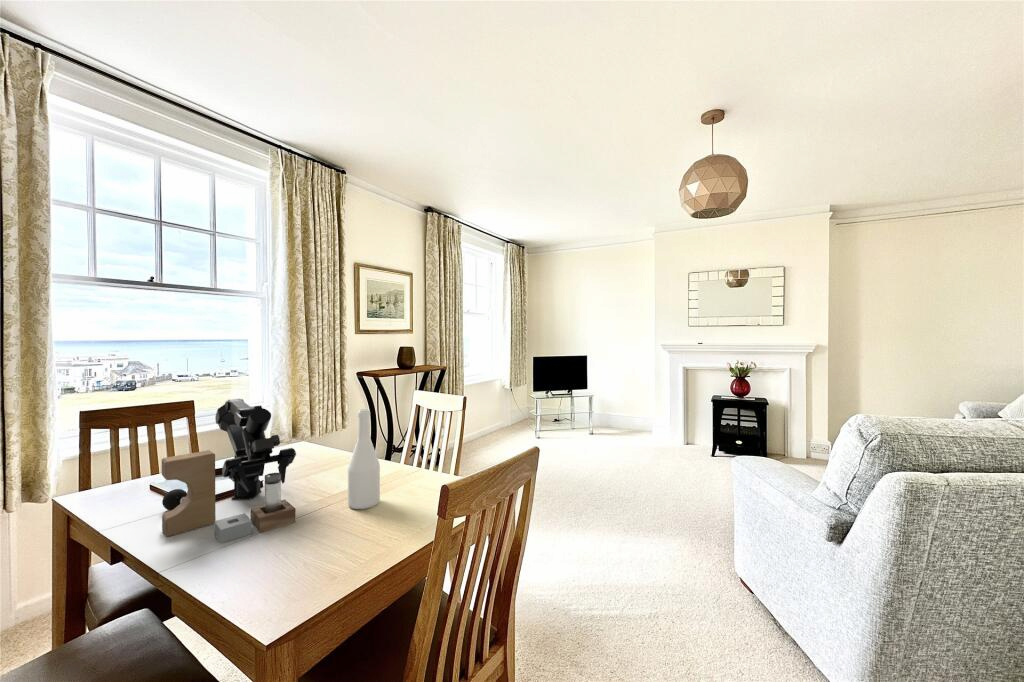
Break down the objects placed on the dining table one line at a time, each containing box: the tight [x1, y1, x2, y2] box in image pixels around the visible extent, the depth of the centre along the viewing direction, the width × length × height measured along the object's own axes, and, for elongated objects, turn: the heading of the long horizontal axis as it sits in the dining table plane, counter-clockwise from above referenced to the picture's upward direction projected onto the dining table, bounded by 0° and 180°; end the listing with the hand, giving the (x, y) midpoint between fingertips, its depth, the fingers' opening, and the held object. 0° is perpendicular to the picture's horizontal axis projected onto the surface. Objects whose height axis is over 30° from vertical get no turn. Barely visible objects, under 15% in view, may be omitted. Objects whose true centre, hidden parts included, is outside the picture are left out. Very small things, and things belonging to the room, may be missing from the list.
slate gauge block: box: [213, 512, 253, 544], centre depth 112 cm, size 7×7×4 cm
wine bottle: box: [347, 408, 381, 510], centre depth 132 cm, size 10×10×30 cm
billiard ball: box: [161, 488, 187, 511], centre depth 127 cm, size 6×6×6 cm
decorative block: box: [161, 449, 217, 538], centre depth 115 cm, size 11×6×20 cm, turn 137°
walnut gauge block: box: [250, 498, 297, 534], centre depth 119 cm, size 9×9×4 cm
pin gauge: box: [264, 472, 282, 514], centre depth 119 cm, size 4×4×13 cm
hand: (266, 486), depth 123 cm, fingers open, 9 cm apart
